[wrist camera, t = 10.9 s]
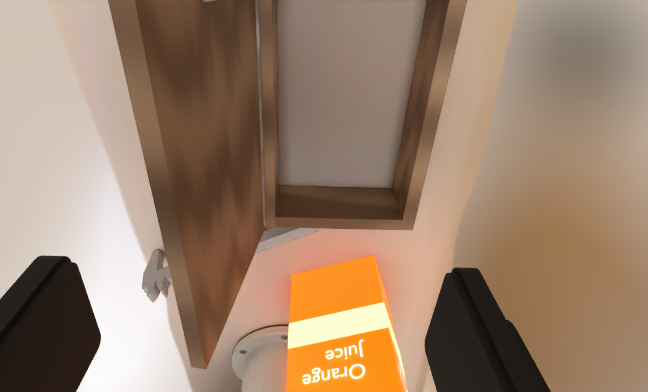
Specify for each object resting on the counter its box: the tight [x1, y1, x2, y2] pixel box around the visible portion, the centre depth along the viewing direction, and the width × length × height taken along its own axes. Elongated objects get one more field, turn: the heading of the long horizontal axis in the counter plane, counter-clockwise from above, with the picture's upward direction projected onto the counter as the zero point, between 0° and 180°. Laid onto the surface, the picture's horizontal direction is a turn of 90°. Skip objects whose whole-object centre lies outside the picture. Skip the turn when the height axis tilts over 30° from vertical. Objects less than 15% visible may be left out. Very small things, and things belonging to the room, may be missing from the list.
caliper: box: [142, 227, 324, 302], centre depth 35 cm, size 20×1×6 cm, turn 106°
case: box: [108, 0, 467, 369], centre depth 23 cm, size 18×15×17 cm
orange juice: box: [287, 255, 408, 392], centre depth 34 cm, size 8×9×20 cm
